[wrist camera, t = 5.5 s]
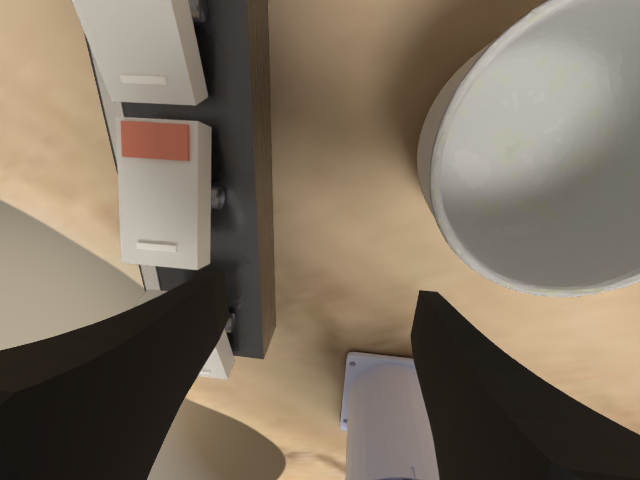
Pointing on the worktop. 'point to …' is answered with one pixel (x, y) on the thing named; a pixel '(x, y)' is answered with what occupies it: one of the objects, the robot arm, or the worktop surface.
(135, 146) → the block
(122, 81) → the rocker
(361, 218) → the worktop surface
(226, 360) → the block
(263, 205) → the switch panel
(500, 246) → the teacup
